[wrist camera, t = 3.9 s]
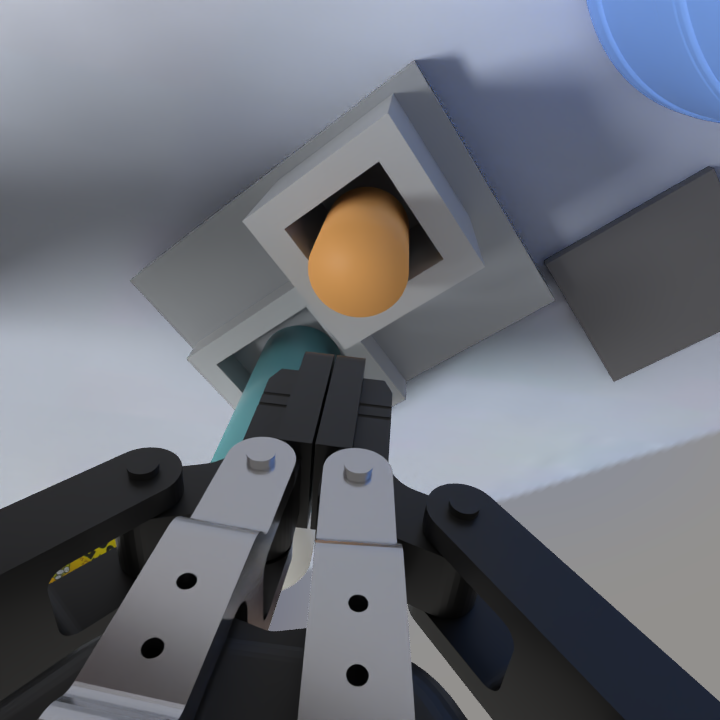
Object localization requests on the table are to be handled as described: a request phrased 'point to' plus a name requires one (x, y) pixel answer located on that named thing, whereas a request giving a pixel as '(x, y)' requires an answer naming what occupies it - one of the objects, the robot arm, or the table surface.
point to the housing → (302, 226)
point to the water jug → (665, 50)
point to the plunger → (361, 253)
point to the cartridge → (276, 355)
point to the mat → (648, 277)
